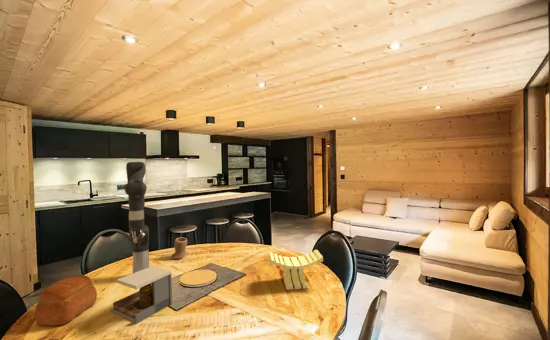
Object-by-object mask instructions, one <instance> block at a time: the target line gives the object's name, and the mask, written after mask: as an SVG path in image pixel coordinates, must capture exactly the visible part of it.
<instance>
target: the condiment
mask: <svg viewBox="0 0 550 340" xmlns="http://www.w3.org/2000/svg"><path fill="white" fill-rule="evenodd" d="M138 291H139V298H140V304H139V305H137V306H135V307H133V308H132V309H134V310H136V311H137V312H138V313H139V312H141V311H143V310H145V309H147V308H148V307H150V306H152V305H154V301H153V296H152V284H151V283H150V284H147V285H145V286H143V287H141V288H139V289H138Z"/></svg>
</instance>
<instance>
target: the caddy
mask: <svg viewBox="0 0 550 340" xmlns="http://www.w3.org/2000/svg"><path fill="white" fill-rule="evenodd" d="M152 296H153V295H152ZM153 302H154V297H153ZM137 305H140V298H139V290H138V291H136V292H134V293H131V294H129V295H127V296H125V297H123V298H121V299H120V298H119V300H116V301H114V302H112V309H114V310H117V311H119V312H121V313H123V314H126V315H128V316H130V317H132V318H135V314H137V313H136V312H133V311H132V310H130V309H133V307H135V306H137Z"/></svg>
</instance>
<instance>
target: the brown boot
mask: <svg viewBox="0 0 550 340" xmlns="http://www.w3.org/2000/svg"><path fill="white" fill-rule="evenodd" d="M187 245H188V239H187V238H186V237H183V236H181V237H177V238H175V240H174V246H173V247H174V253H173V254H172V255H171V257H170V258H171V259H174V260H177V259H178V260H179V259H183V258H184V257H186V255H187V252H188V251H187V250H186V248H187Z"/></svg>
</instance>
